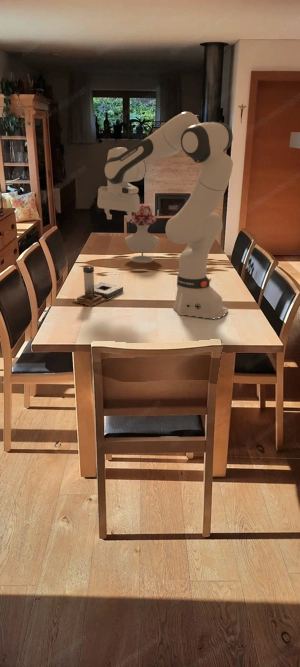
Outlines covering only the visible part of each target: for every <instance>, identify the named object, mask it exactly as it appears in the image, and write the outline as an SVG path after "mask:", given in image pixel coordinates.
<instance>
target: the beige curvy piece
mask: <svg viewBox="0 0 300 667" xmlns="http://www.w3.org/2000/svg"><path fill="white" fill-rule="evenodd" d="M157 219H158V217H157V216H155V215H153V209H152V207H151V206H150V205H149V204H146V203H140V209H139V211H137V212H133V214H132V215H131V216H130V221H129V223H131V224H132V225H135V226H136V227H137V229H136V232H135V233H132V234H129V235H127V236H126V237H125V239H124V242H125V245H126V246H127V247H128V248H129V249H130V250H131V251H132V253H140V254H141V255H137V256H132V257H130V258H129V259H130V261H131V262H133V263H138V264H148V263H149V264H150V263H152V262H154V261H155V258H154V257H152V256H148V255H144V253H145V254H150V253H152V252H153V251H154V250H155V249H156V248H157V247H158V245H159V243H160V241H161V239H160V237H158V236H156V235H153V234H151V233H150V232H148V229H149V227H150V225H153V224H154V223H156V222H157Z"/></svg>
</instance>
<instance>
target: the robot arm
mask: <svg viewBox="0 0 300 667" xmlns="http://www.w3.org/2000/svg"><path fill="white" fill-rule="evenodd" d="M233 135H234V134H233V130H232V128H231V127H230V126H229V125H228V124H226V123H224V122H222V121H221V122H220V121H206V122H200V120H199V119H198V117H197V116H196V115H195V114H194V113H192V112H191V111H183V112H181V113H179V114H177V115H175V116H174V117H172V118H171V119H169V120H168V121H167V122H166V123H164V124H163V125H162V126H160V127H159V128H158V129H157V130H156V131H153V133H150V134H149V135H148V136H147V137H145V138H144V139H142V140H141V141H139V142H137V143H136V144H135V145H133V146H131V147H130V148H129V149H127V147H125V146H124V147H123V146H122V147H121V146H120V147H113V148H111V149H109V150H108V152H107V160H106V162H105V164H104V168H103V172H104V176H105V177H106V179H107V186H104V185H103V186H101V185H100V186H99V187H98V189H97V194H98V195H97V200H96V201H97V208H99V209H104V213H105V214H106V219H107V220H112V219H113V218H112V217H113V215H112V214H111V213H110V210H115V211H121V212H126V215H127V216H126V217H124V222H126V223H130V216H131V215H133V213H134V212H137V211H139V209H140V204H141V200H140V196H139V194H138V193H139V187H137V186H135V185H133V184H131V183H132V182H139V181H142V180H143V179H144V178H145V175H146V173H147V164H146V162H145V161H149V160H154V159H164V158H169V157H171V156H175V155H176V154H178V153H179V152H181V151H183V152H184V153H185V154H186V155H187V157H189V158H191V159H192V160H193V162H195V163H196V164H201V169H200V171H199V174H198V176H197V179H196V183H195V185H194V187H193V190H192V192H191V194H190V196H189V197H188V199H187V201H186V202H185V203H184V204H183V206H182V207H181V209H180V210H179V211H178V212H177V213H176V214H175V215H173V216H172V217H170V218H169V219H168V220H167V222H166V223H165V224H166V225H165V235H166V237H167V238H168V241H170V242H171V243H173V244H179V245H180V244H182V245H184V244H187V245H186V247H185V249H184V250H183V251H182V252H181V253H180V255H179V259H178V274H177V275H176V276H177V278H176V286H177V290H176V295H175V301H174V304H173V307H172V309H173V310H174V311H176V312H177V315H179V316H184V315H188V316H187V317H191V316H196V317H195V318H198V317H203V318H202V319H205V318H212V319H213V318H218V317H221V316H223V315H224V314H226V313H227V312H228V313H229V309H228V307H226V306H224V305H223V304H224V302H223V298H222V296H221V294H219V293H218V292H217V291H216V290H215V289H214V288H213V287H212V286H211V285H210V283H211V282H212V279H213V278H211V277H210V278H209V277H207V265H208V258H209V254H210V251H211V248H212V246H213V244H214V242H215V240H216V239H217V237H218V236H219V235H220V234H221V233H222V232H223V228H224V225H223V224H224V223H223V219H222V217H221V216H220V215H219V213H217V212H215V211H216V210H217V209H218V208H219V207H220V204H221V202H222V199H223V197H224V195H225V193H226V190H227V188H228V185H229V183H230V179H231V177H232V172H233V166H234V162H233V158H231V156H229V155H228V154H227V153H225V151H227V150H228V149H229V148H230V147H231V145H232V143H233V140H234V136H233ZM228 313H227V314H228ZM227 314H226V315H227ZM223 317H224V316H223ZM212 319H211V320H212Z"/></svg>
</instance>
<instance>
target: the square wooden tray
mask: <svg viewBox="0 0 300 667" xmlns="http://www.w3.org/2000/svg"><path fill="white" fill-rule="evenodd" d="M102 301H103V302H105V301H107V299H106V298H102V296H100V295H96V294H94V299H92V300H89V299H85V293H84V294H82V295H80V296H78V297H77V298H75V299H74V300H72V303H74V304H78V303H81V304H80V305H82V304H85V305H84V306H87V305H88V306H87V307H91V306H93V307H94V305H95V304H97V303H99V304H101V303H103V302H102ZM100 302H101V303H100ZM97 305H98V304H97ZM95 306H96V305H95Z"/></svg>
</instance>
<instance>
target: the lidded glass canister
mask: <svg viewBox="0 0 300 667" xmlns="http://www.w3.org/2000/svg"><path fill="white" fill-rule="evenodd" d="M82 270H83V284H84V285H83V286H84V294H85V299H89V300H92V299H94V285H95V275H94V272H95V267H94V266H91V265H87V266H86V265H85V266H83V267H82Z"/></svg>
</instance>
